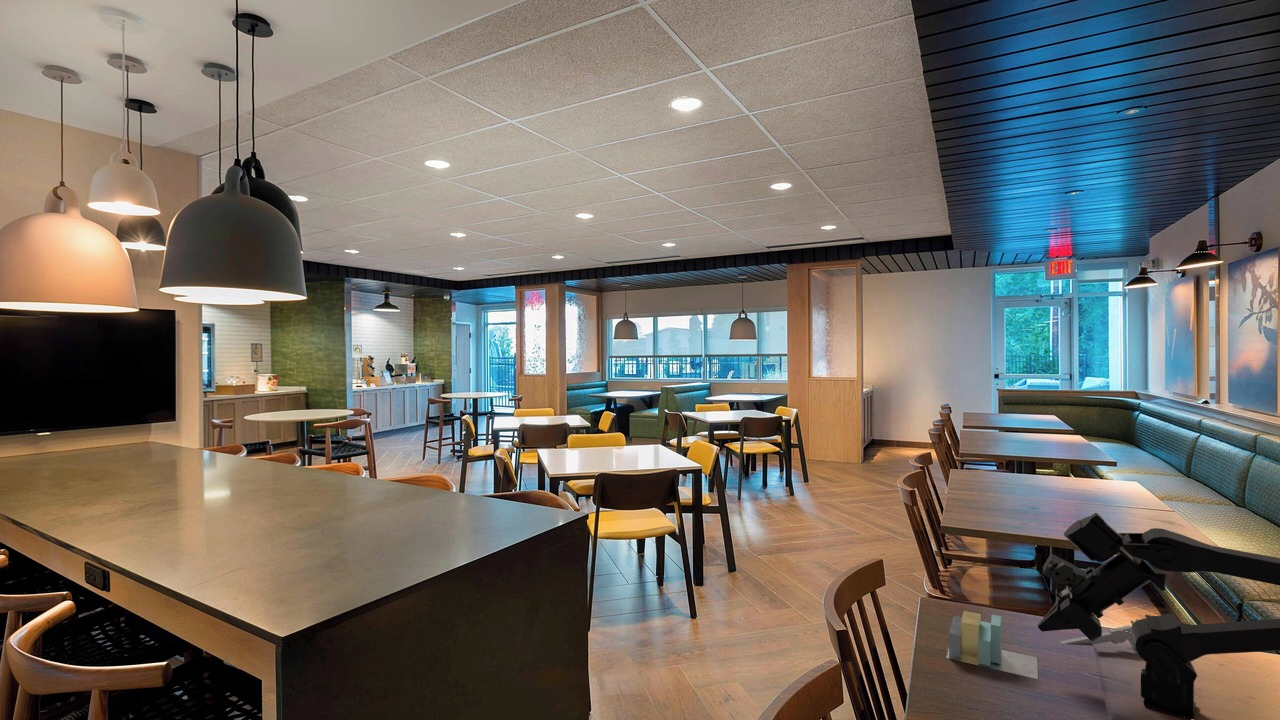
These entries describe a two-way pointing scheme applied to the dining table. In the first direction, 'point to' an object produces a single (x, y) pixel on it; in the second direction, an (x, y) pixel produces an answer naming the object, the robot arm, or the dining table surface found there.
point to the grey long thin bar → (1107, 637)
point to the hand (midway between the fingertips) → (1039, 628)
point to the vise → (1008, 662)
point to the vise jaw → (990, 642)
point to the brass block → (970, 635)
